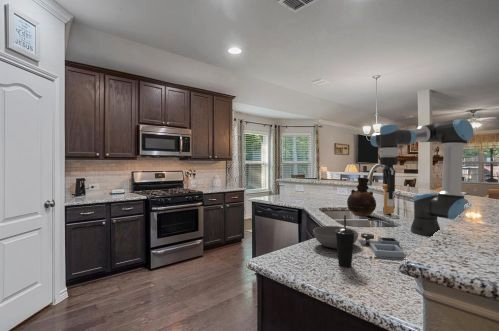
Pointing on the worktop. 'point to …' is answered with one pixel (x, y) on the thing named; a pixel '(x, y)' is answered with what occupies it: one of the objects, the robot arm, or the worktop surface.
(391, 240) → the tensioner plate
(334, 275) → the worktop surface
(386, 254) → the tray
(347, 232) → the drinking cup
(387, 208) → the lock pin
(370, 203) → the ceramic vessel
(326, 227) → the bowl
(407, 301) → the worktop surface
